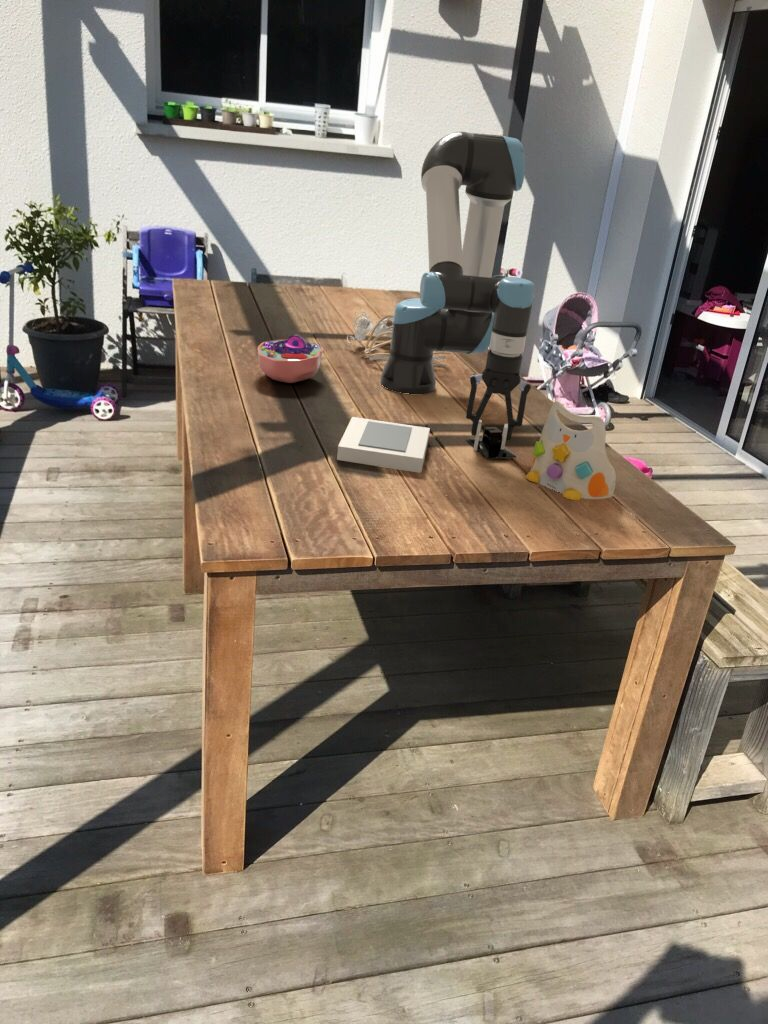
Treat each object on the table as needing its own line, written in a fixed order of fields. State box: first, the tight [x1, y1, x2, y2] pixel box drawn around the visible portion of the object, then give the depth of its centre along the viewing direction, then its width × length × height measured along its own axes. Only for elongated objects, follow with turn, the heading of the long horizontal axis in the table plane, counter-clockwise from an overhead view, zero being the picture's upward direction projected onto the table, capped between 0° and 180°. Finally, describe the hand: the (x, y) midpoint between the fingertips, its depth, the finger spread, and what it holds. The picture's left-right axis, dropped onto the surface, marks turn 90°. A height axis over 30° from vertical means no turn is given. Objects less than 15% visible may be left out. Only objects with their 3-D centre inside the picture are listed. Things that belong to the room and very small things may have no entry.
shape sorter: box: [525, 400, 617, 501], centre depth 174 cm, size 20×10×18 cm, turn 44°
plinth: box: [336, 416, 431, 474], centre depth 183 cm, size 18×18×4 cm
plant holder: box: [346, 309, 451, 368], centre depth 249 cm, size 28×35×16 cm
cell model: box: [257, 334, 324, 384], centre depth 219 cm, size 17×20×11 cm
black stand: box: [466, 426, 517, 460], centre depth 190 cm, size 12×7×5 cm, turn 18°
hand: (488, 450), depth 191 cm, fingers closed on black stand, 5 cm apart
